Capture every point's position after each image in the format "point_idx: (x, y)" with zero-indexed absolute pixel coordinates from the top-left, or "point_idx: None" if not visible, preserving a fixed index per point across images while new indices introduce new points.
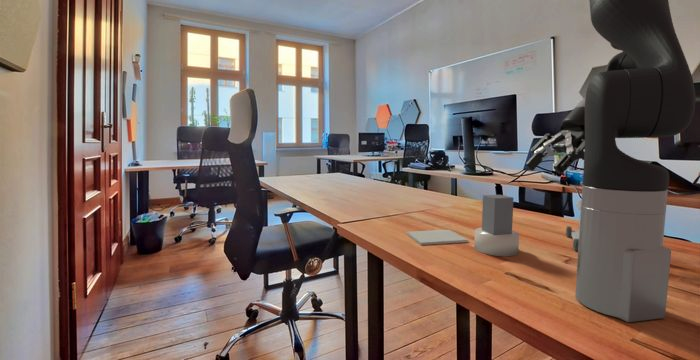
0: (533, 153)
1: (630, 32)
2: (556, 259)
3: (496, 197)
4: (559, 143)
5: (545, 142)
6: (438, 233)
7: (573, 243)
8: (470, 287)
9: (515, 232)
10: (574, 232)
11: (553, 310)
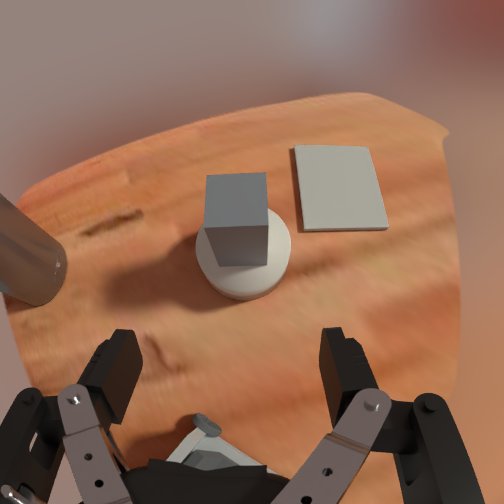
0: (410, 407)
1: None
2: (166, 336)
3: (219, 185)
4: (205, 490)
5: (355, 466)
6: (356, 193)
7: (219, 429)
8: (123, 155)
9: (229, 283)
10: None
11: (57, 206)
